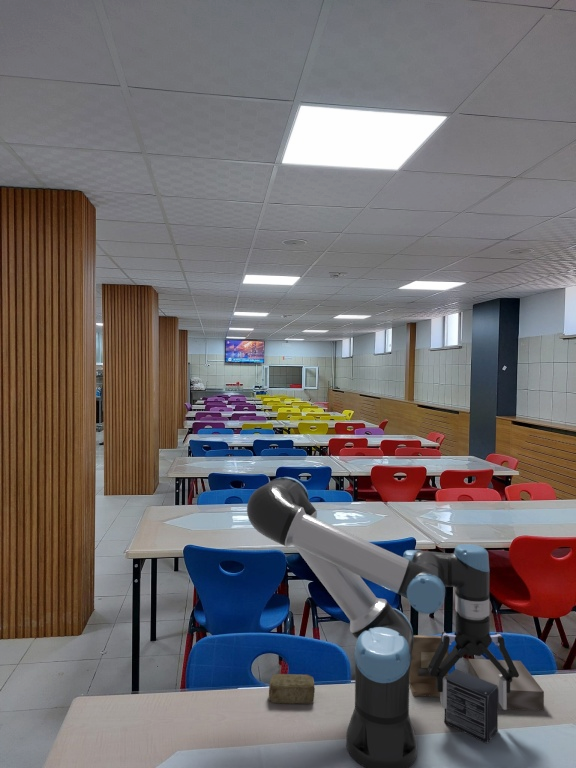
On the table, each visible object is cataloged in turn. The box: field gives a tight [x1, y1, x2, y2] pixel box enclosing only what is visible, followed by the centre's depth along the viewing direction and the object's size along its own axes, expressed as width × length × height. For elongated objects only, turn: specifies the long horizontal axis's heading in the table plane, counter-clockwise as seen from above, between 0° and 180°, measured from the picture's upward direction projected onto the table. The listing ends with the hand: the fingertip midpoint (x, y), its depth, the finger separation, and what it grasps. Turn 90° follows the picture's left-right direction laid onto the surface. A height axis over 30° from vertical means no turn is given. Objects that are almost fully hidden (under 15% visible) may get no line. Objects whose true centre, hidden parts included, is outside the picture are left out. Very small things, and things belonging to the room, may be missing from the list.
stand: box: [409, 634, 450, 698], centre depth 132 cm, size 10×6×13 cm, turn 88°
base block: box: [467, 658, 545, 711], centre depth 131 cm, size 14×14×5 cm
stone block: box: [268, 673, 316, 705], centre depth 127 cm, size 6×12×5 cm, turn 90°
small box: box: [444, 668, 499, 744], centre depth 117 cm, size 11×6×10 cm, turn 47°
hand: (473, 705), depth 117 cm, fingers open, 13 cm apart
